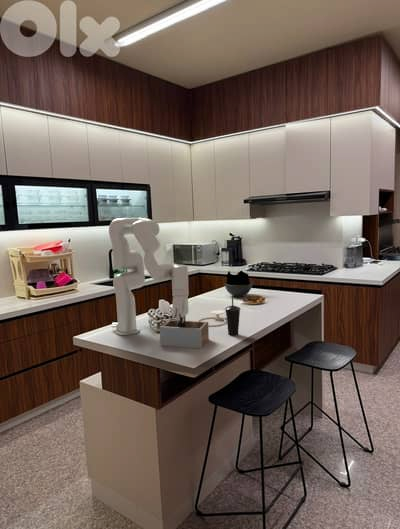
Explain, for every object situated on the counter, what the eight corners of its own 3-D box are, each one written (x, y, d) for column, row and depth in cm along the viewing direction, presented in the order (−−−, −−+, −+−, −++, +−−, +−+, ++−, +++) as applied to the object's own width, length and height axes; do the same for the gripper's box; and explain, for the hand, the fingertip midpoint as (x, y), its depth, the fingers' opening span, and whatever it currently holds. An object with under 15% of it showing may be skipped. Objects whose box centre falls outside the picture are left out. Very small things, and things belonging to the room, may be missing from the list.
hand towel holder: (190, 317, 205) (208, 308, 222) (190, 325, 205) (208, 315, 223) (217, 321, 196) (233, 311, 214) (217, 329, 197) (234, 318, 214)
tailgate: (160, 345, 173) (159, 326, 171) (161, 344, 174) (160, 326, 172) (201, 348, 167) (200, 329, 165) (202, 347, 168) (201, 328, 167)
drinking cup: (239, 332, 189) (239, 293, 187) (241, 336, 182) (241, 297, 179) (224, 332, 189) (224, 294, 186) (226, 337, 181) (225, 297, 179)
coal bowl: (256, 295, 274) (256, 269, 272) (245, 300, 257) (244, 274, 255) (232, 292, 285) (232, 268, 282) (220, 298, 268) (219, 272, 265)
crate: (161, 344, 174) (160, 326, 173) (170, 337, 185) (169, 319, 184) (202, 347, 168) (201, 328, 167) (208, 339, 179) (208, 321, 178)
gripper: (178, 288, 177) (179, 325, 180) (166, 295, 163) (168, 335, 165) (193, 288, 175) (194, 326, 178) (182, 295, 161) (184, 336, 163)
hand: (182, 330), depth 172 cm, fingers closed
